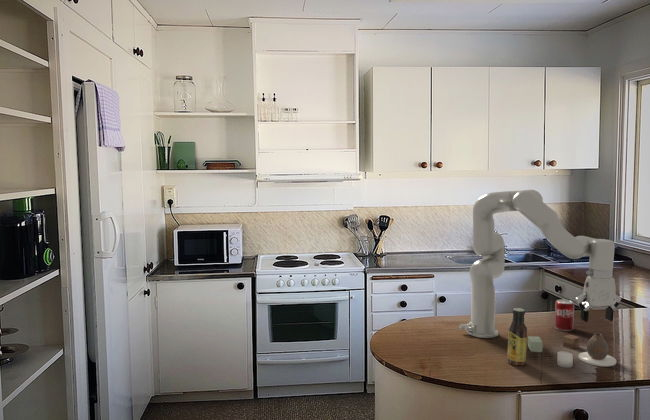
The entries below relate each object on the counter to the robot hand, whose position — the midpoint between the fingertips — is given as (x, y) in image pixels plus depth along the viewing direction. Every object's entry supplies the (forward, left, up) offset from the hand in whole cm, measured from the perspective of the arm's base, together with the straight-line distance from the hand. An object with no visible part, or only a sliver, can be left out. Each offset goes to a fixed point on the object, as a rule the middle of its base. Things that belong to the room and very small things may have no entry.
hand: (596, 320), depth 183 cm
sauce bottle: (-30, +1, -15) cm, 33 cm away
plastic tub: (-14, -3, -15) cm, 20 cm away
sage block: (-16, +13, -15) cm, 25 cm away
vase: (0, 0, -14) cm, 14 cm away
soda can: (+9, +33, -15) cm, 38 cm away
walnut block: (-1, +13, -15) cm, 20 cm away
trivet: (0, -1, -15) cm, 15 cm away
